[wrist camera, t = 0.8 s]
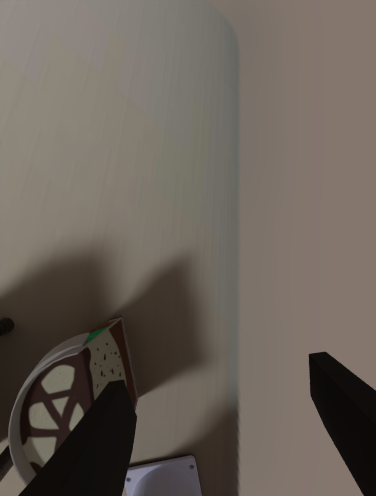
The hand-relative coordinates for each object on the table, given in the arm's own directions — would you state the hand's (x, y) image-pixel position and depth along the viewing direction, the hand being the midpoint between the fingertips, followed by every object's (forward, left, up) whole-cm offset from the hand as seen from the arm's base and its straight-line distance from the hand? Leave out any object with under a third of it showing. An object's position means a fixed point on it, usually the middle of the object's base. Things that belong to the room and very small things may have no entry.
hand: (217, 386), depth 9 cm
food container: (-6, +11, -16) cm, 21 cm away
